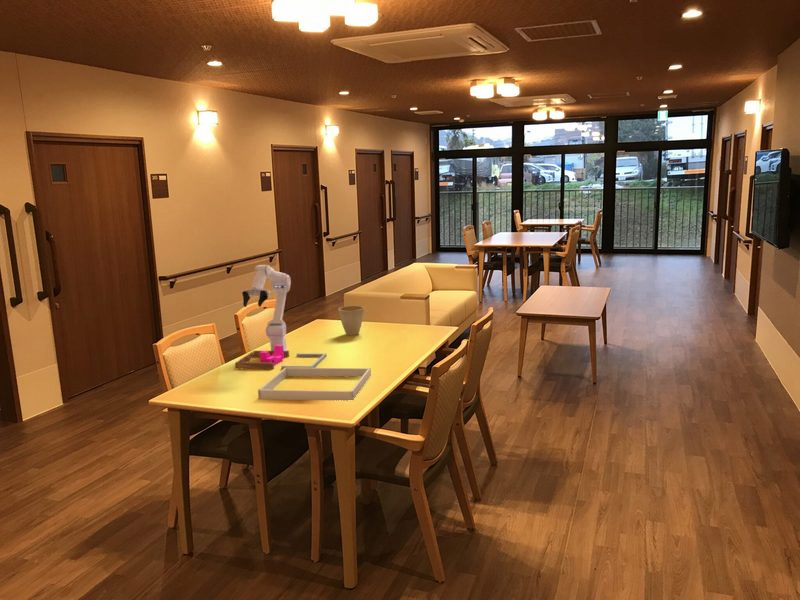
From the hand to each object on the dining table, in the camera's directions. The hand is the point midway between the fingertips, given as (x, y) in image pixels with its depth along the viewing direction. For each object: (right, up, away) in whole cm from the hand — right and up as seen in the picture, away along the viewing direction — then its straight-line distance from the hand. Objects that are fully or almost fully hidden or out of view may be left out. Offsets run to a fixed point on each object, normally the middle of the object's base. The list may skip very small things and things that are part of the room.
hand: (251, 305), depth 315 cm
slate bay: (+24, -29, +12) cm, 40 cm away
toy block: (+8, -30, +15) cm, 35 cm away
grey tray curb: (+36, -36, -28) cm, 58 cm away
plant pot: (+45, -18, +67) cm, 83 cm away
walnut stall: (+2, -30, +17) cm, 34 cm away
